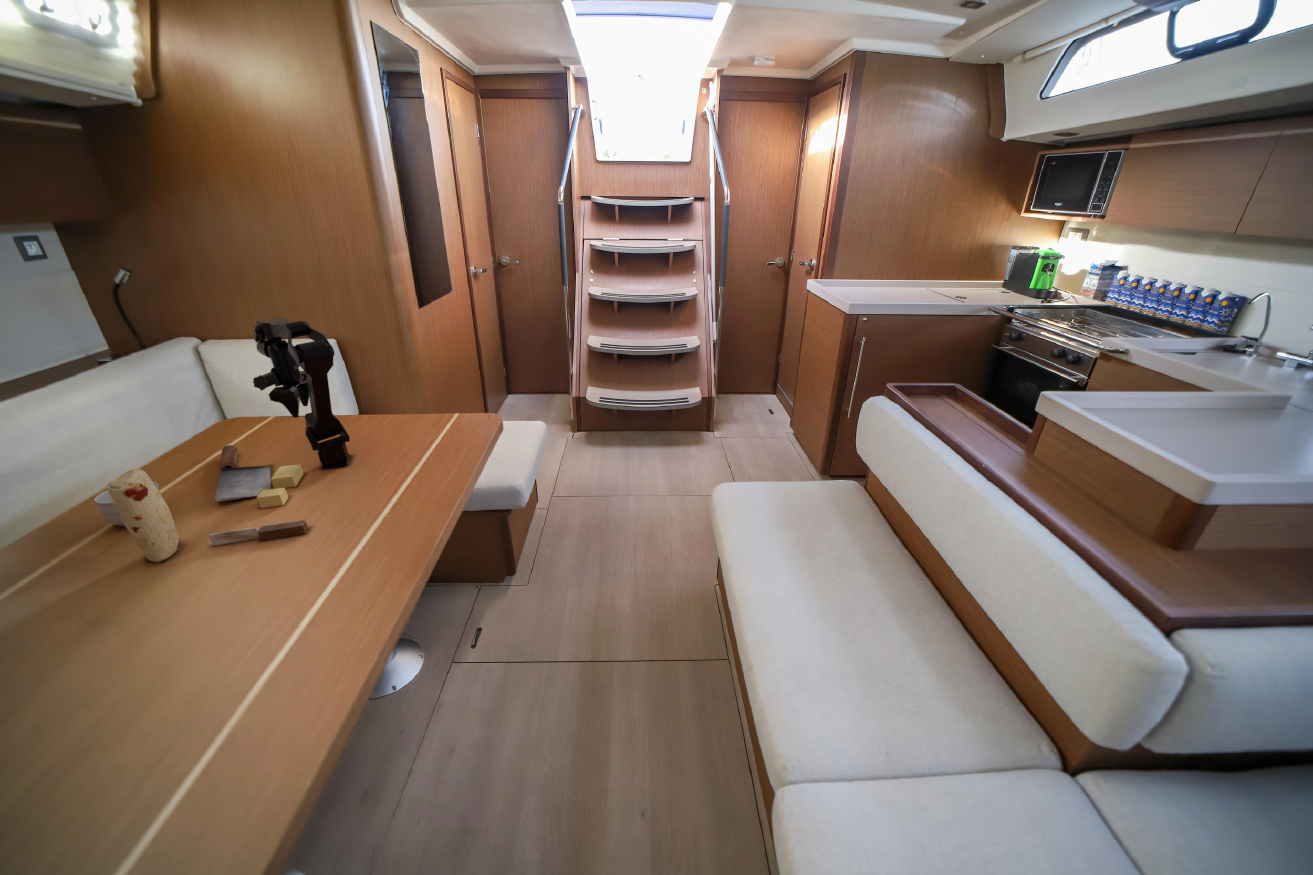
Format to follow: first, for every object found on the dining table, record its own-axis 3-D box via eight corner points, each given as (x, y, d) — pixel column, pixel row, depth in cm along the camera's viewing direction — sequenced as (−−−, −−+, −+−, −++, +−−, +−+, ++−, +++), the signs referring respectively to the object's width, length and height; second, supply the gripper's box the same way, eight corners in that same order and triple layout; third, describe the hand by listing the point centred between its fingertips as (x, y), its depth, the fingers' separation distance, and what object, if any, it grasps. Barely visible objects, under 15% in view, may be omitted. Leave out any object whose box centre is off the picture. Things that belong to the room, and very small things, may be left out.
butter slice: (288, 497, 131) (284, 487, 130) (283, 505, 128) (279, 494, 126) (266, 500, 130) (262, 490, 128) (260, 508, 127) (256, 497, 125)
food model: (179, 560, 108) (138, 481, 100) (139, 570, 106) (92, 490, 97) (190, 536, 116) (152, 461, 107) (153, 545, 113) (110, 468, 104)
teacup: (108, 518, 122) (92, 491, 118) (167, 501, 129) (154, 474, 126) (112, 543, 113) (95, 514, 110) (175, 523, 121) (161, 495, 117)
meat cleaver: (271, 494, 132) (266, 481, 130) (217, 508, 126) (210, 494, 125) (269, 447, 157) (265, 436, 155) (224, 457, 151) (219, 445, 149)
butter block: (303, 473, 142) (300, 464, 140) (295, 486, 136) (292, 476, 134) (283, 476, 141) (279, 466, 139) (274, 489, 135) (270, 479, 133)
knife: (308, 528, 119) (304, 517, 118) (305, 533, 117) (301, 523, 116) (216, 542, 114) (211, 531, 113) (211, 548, 112) (206, 537, 111)
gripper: (264, 355, 151) (281, 403, 158) (238, 374, 135) (258, 427, 142) (306, 352, 154) (321, 399, 161) (285, 371, 138) (303, 422, 145)
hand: (301, 411), depth 152 cm, fingers open, 9 cm apart
